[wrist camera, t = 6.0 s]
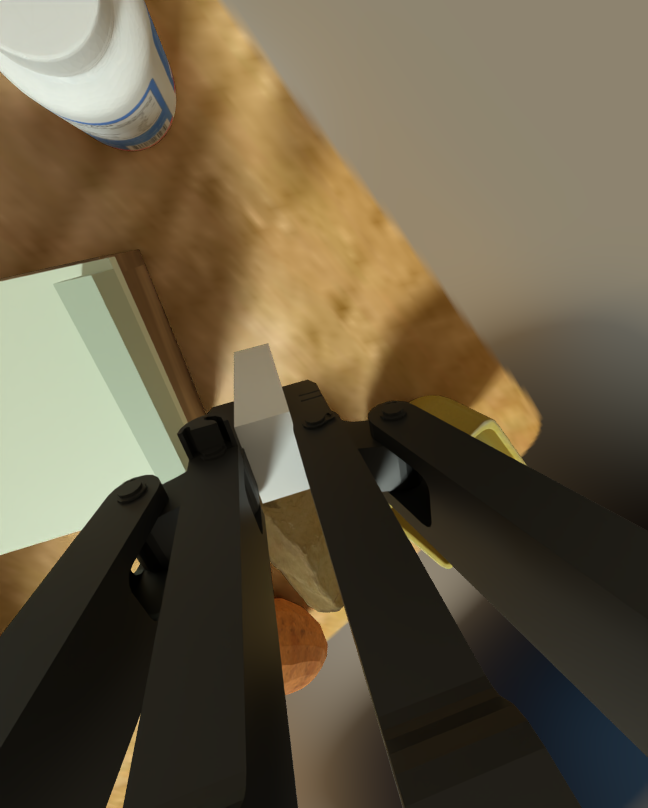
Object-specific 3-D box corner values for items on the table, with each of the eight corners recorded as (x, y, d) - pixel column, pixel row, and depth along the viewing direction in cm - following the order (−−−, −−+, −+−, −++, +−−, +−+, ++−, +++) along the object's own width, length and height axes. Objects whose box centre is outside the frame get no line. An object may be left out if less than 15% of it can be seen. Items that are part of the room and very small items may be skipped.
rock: (187, 500, 26) (267, 584, 29) (242, 522, 19) (336, 626, 23) (282, 406, 31) (339, 485, 35) (350, 397, 25) (411, 496, 28)
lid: (-34, 555, 18) (-84, 616, 15) (-250, 337, 13) (-391, 367, 10) (213, 480, 20) (210, 523, 17) (114, 256, 14) (84, 262, 11)
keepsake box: (7, 482, 24) (-91, 591, 17) (-131, 309, 19) (-366, 358, 11) (210, 424, 26) (201, 500, 19) (138, 249, 20) (86, 259, 13)
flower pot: (420, 365, 28) (494, 417, 20) (470, 429, 32) (548, 494, 24) (337, 438, 29) (377, 515, 21) (395, 491, 33) (447, 572, 25)
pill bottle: (51, -14, 16) (-170, -317, 7) (182, 41, 17) (134, -150, 9) (55, 133, 18) (-112, 39, 9) (172, 170, 19) (125, 119, 11)
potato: (233, 568, 33) (234, 653, 26) (333, 590, 37) (355, 667, 31) (191, 634, 35) (182, 727, 28) (290, 647, 39) (301, 730, 33)
